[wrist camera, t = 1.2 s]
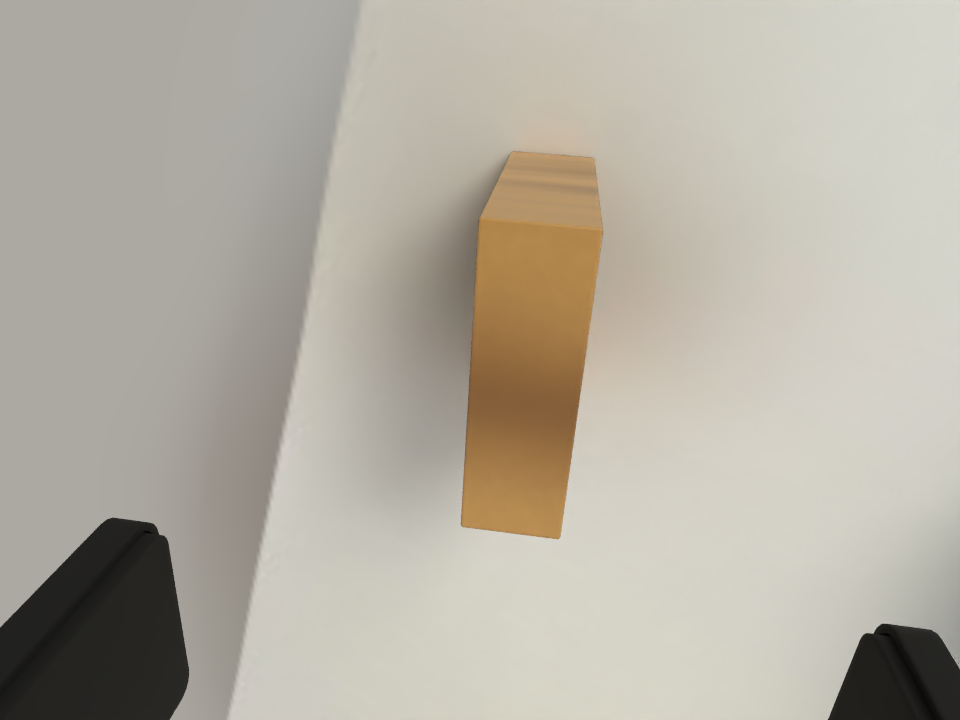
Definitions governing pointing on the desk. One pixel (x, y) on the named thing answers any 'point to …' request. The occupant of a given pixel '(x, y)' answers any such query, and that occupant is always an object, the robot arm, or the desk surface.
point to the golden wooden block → (529, 341)
